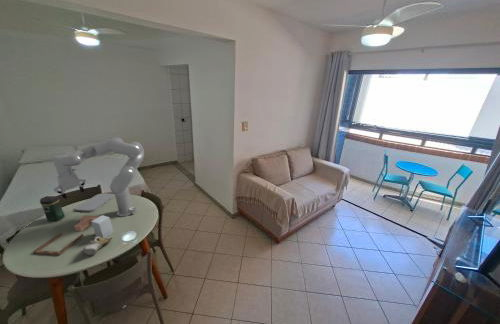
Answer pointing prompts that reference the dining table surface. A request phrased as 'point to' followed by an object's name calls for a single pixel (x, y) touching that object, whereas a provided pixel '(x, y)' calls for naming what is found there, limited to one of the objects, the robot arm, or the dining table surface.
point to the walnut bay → (39, 251)
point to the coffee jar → (52, 208)
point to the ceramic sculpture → (95, 245)
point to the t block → (84, 222)
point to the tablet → (94, 202)
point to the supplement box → (102, 226)
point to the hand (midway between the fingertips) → (74, 195)
